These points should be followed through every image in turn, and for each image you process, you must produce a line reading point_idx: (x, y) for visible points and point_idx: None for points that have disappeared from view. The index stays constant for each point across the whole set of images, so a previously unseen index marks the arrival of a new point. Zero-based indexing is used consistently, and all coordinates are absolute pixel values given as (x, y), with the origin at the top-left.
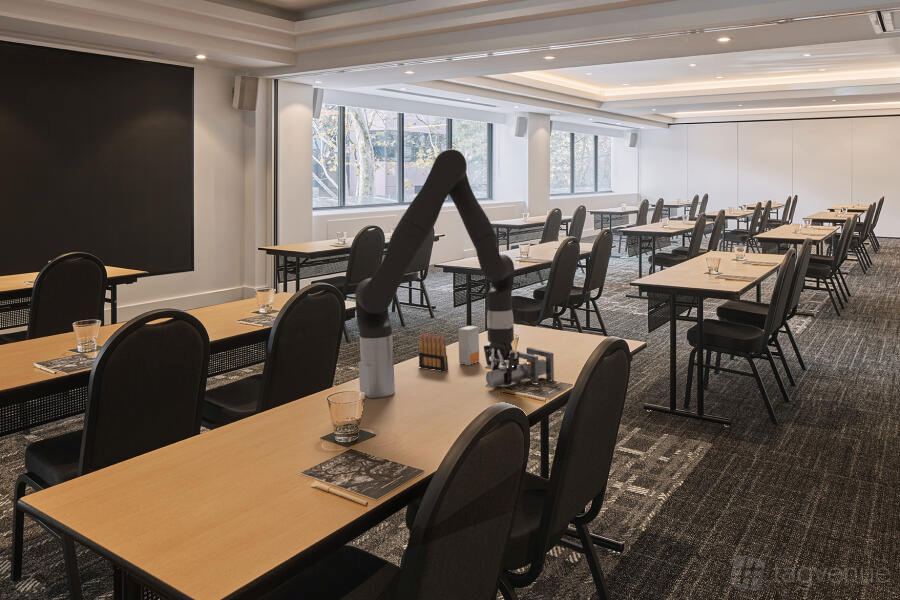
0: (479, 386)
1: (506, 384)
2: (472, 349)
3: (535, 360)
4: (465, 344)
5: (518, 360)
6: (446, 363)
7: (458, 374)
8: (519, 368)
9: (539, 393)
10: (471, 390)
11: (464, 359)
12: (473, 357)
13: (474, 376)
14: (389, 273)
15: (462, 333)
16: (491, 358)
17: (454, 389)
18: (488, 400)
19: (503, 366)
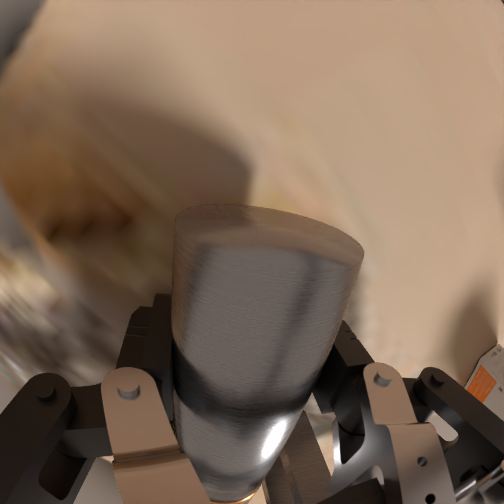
0: (373, 211)
1: (155, 300)
2: (497, 398)
3: None
4: None
5: (294, 497)
6: None
7: (494, 284)
8: (197, 470)
9: (11, 334)
10: (357, 102)
11: (498, 360)
12: (482, 385)
13: (452, 314)
14: None
15: None
16: (430, 449)
17: (435, 77)
18: (82, 17)
19: (160, 436)
